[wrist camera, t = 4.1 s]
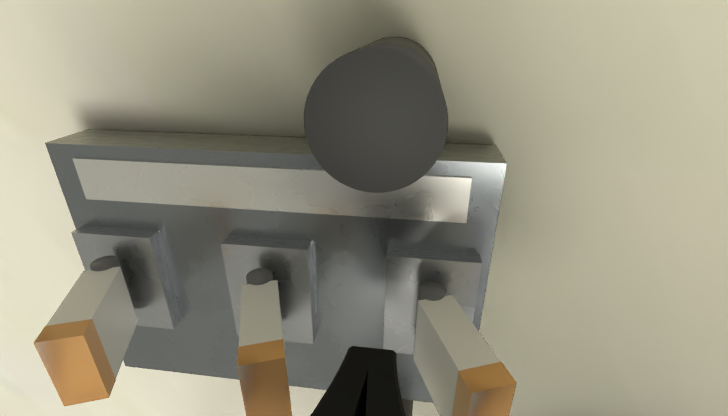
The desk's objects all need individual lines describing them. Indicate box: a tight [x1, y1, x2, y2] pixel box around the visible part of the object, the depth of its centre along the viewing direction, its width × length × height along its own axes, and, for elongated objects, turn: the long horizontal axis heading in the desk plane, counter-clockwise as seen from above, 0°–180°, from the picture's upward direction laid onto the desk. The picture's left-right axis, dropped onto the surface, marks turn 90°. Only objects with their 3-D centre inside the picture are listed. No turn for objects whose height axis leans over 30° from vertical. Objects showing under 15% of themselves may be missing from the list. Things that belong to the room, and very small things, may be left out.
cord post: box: [304, 37, 448, 193], centre depth 11 cm, size 3×3×6 cm
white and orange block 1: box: [237, 268, 292, 416], centre depth 13 cm, size 1×3×4 cm, turn 0°
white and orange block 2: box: [414, 282, 516, 416], centre depth 12 cm, size 1×3×4 cm, turn 0°
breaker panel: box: [45, 129, 507, 403], centre depth 16 cm, size 16×11×3 cm
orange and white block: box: [34, 255, 138, 406], centre depth 14 cm, size 1×3×4 cm, turn 0°
